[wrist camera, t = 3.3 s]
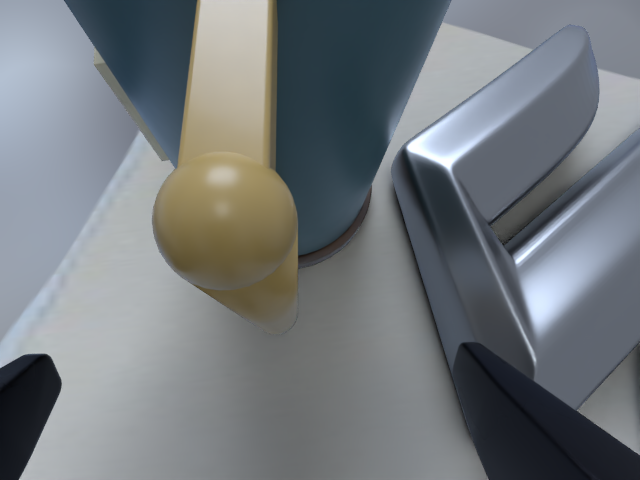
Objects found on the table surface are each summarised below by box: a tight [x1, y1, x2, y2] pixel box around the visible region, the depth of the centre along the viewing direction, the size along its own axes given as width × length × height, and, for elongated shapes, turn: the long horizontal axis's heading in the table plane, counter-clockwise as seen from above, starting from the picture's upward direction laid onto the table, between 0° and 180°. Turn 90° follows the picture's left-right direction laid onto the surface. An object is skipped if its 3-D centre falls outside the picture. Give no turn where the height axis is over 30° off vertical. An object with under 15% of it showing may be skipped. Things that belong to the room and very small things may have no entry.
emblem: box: [391, 25, 640, 434], centre depth 19 cm, size 28×5×28 cm
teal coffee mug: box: [64, 0, 451, 335], centre depth 12 cm, size 14×10×15 cm
